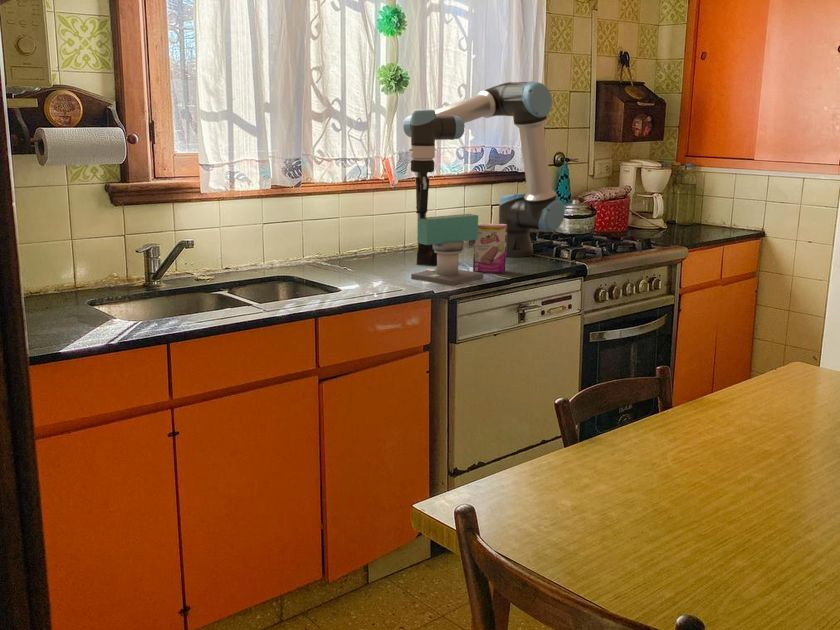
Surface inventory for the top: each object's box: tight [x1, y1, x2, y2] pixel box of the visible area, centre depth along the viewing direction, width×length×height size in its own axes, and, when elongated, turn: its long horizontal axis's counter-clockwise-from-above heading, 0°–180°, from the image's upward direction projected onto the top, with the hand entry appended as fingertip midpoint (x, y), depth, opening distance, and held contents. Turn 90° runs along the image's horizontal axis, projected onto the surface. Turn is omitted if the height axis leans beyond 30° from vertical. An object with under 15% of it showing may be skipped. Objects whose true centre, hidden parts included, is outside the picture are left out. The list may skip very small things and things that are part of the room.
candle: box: [416, 236, 437, 267], centre depth 303 cm, size 10×10×10 cm
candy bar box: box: [472, 222, 507, 274], centre depth 287 cm, size 11×5×16 cm, turn 84°
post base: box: [410, 250, 484, 287], centre depth 277 cm, size 17×17×10 cm
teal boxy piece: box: [417, 213, 479, 251], centre depth 275 cm, size 10×21×10 cm, turn 126°
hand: (421, 232), depth 274 cm, fingers closed
